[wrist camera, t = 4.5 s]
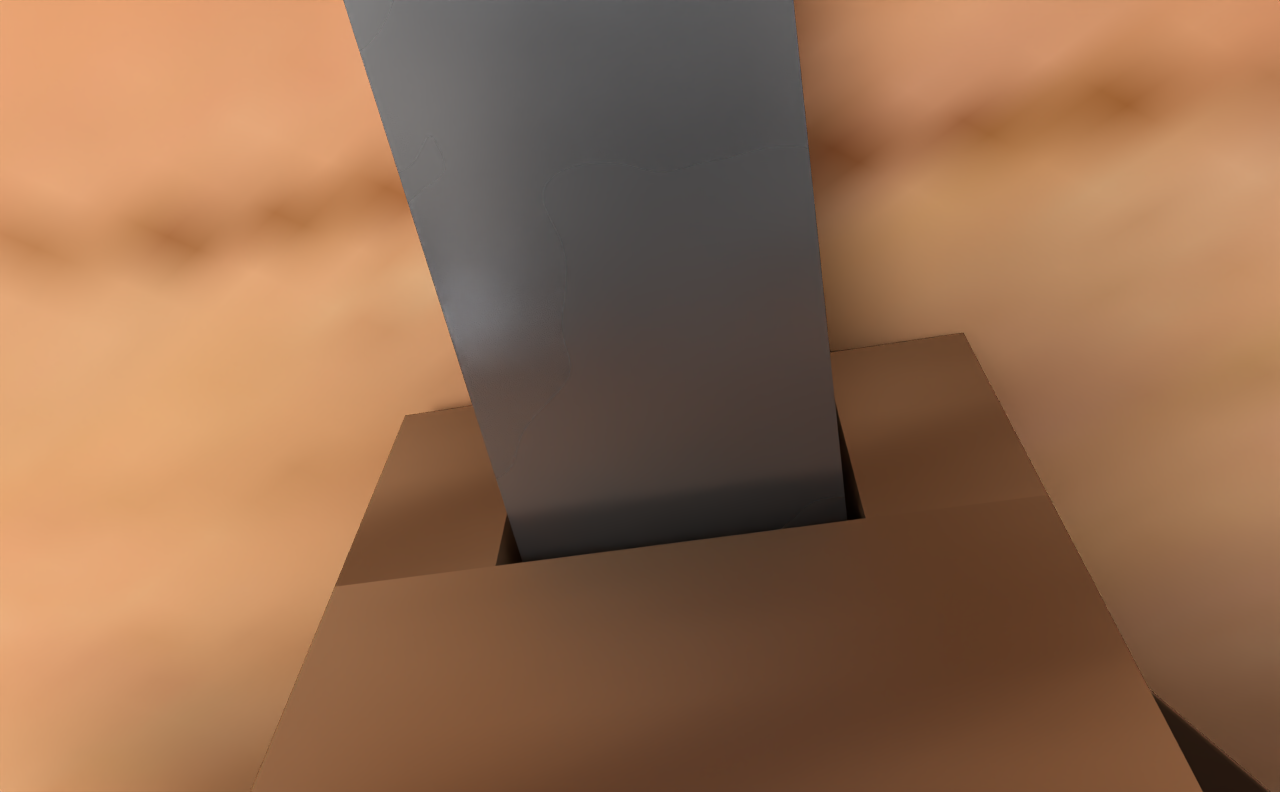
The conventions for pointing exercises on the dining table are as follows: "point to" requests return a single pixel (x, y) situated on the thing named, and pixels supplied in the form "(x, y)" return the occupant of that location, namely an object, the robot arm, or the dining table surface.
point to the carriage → (734, 630)
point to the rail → (620, 257)
